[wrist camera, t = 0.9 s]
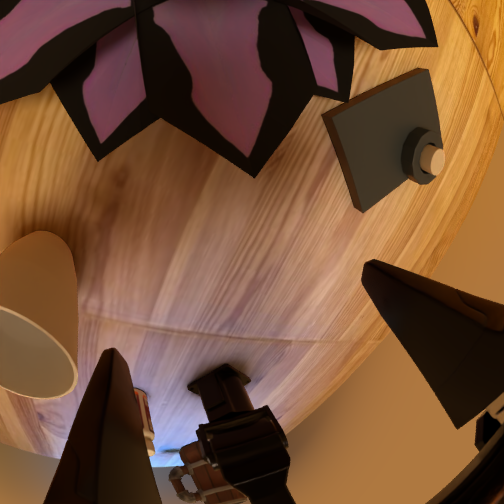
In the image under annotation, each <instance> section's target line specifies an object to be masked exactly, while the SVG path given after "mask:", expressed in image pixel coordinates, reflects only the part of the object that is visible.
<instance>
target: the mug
mask: <svg viewBox="0 0 504 504" xmlns="http://www.w3.org/2000/svg"><path fill="white" fill-rule="evenodd" d="M179 454H180V457H181V460H182V461H183V463H184V464H185V465H184V466H181V467H179V466H176V467H174V468H173V469H172V470H171V472H170V474H169V481H171V482H172V485H173V486H174V488H175V490H176V492H177V496H178V497H179V498H180V499H181V500H183V501H185V502H188V503H196V501H199V500H200V501H204V503H205V504H240V503H243V502H245V501H247V497H246V496H245V495H243V494H242V493H240V492H239V491H237V490H236V489H235V488H233V487H232V486H230V485H229V484H228V483H227V482H226V481H225V480H224V479H223V476H222V474H221V471H220V470H218V471H214V469H213V467H212V466H210V464H209V463H206V462H204V460H203V457H202V453H201V449H200V444H199V441H197V442H194V443H192V444H190V445H187V446H185V447H183V448H182V449H181V451H180V452H179ZM185 474H188V475H191V477H192V479H193V481H194V483H195V485H196V487H197V489H198V490H197V491H196V493H192V492H190V493H189V492H188V490H185V488H184V486H183V484H182V482H181V479H182V478H181V477H183V476H184V475H185Z"/></svg>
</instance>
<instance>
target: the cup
mask: <svg viewBox="0 0 504 504" xmlns="http://www.w3.org/2000/svg"><path fill="white" fill-rule="evenodd" d="M78 323H79V317H78V297H77V277H76V272H75V267H74V262H73V256H72V253H71V251H70V249H69V247H68V245H67V244H66V243H65V242H64V241H63V240H62V239H61V238H60V237H59V236H57V235H56V234H54V233H51V232H48V231H35V232H32V233H30V234H28V235H26V236H24V237H22V238H20V239H19V240H17V241H15V242H13V243H12V244H11V245H10V246H9V247H8V248H7V249H5V250H4V251H3V252H2V253H1V254H0V387H2V388H4V389H6V390H8V391H10V392H13V393H15V394H18V395H21V396H25V397H29V398H35V399H55V398H59V397H62V396H65V395H67V394H68V393H70V392H71V391H72V390H73V389H74V388H75V386H76V384H77V380H78V363H77V354H78Z"/></svg>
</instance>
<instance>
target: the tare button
mask: <svg viewBox="0 0 504 504" xmlns="http://www.w3.org/2000/svg"><path fill="white" fill-rule="evenodd" d="M444 164H445V153H444V151H443V150H442V149H440V148H437V147H435V146H432V145H429V144H428V145H426V146H425V147H424V149H423V151H422V152H421V157H420V167H421V169H422V170H424V171H426V172H428V173H430V174H432V175H438V174H440V172H441V171H442V169H443V167H444Z"/></svg>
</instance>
